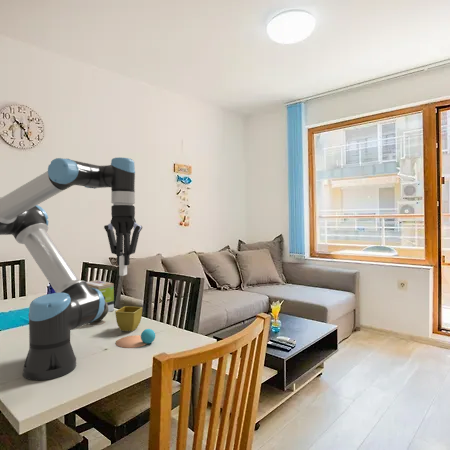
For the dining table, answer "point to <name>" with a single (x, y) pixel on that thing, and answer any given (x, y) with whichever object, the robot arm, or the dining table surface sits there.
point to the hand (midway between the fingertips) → (123, 274)
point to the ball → (148, 336)
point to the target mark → (130, 342)
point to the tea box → (104, 291)
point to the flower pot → (128, 318)
